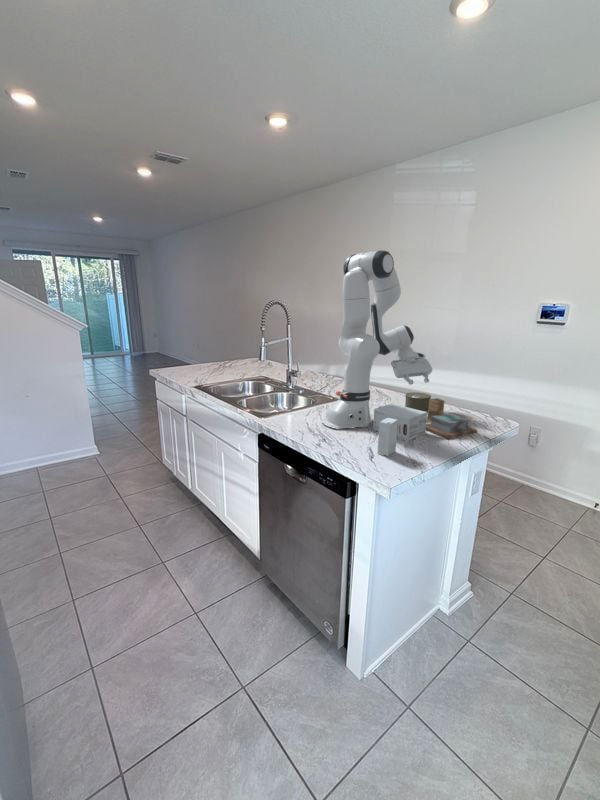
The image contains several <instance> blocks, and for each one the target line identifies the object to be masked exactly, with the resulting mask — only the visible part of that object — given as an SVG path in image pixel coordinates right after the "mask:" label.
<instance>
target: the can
mask: <svg viewBox="0 0 600 800" xmlns="http://www.w3.org/2000/svg"><path fill="white" fill-rule="evenodd" d="M429 399H432V395H431V394H428V393H426V392H425V393H424V392H408V393H406V394H405V402H404V403H405V406H404V407H408V408H412V409H416V410H420V411H424V412H425V411H426V412H428V409H429Z"/></svg>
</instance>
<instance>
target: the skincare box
mask: <svg viewBox="0 0 600 800" xmlns="http://www.w3.org/2000/svg"><path fill="white" fill-rule="evenodd" d="M397 426H398V420H397V419H392V418H386V419H384V420H382V421H381V422H380V424H379V431H378V439H377V443H378V444H377V454H378V453H379V454H378V455H381V454H383V455H382V456H384V455H386V456H385V457H389V456H390V455H392V454H393V453H394V452H396V450H397V448H396V447H397V439H398V438H397Z"/></svg>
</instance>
